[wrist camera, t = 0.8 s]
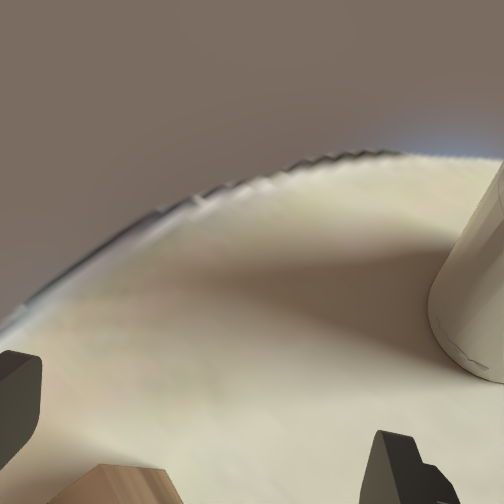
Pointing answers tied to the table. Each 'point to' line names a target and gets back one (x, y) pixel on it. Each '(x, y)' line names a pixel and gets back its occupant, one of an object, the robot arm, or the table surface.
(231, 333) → the table surface
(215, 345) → the table surface
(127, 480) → the walnut block
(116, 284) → the table surface
